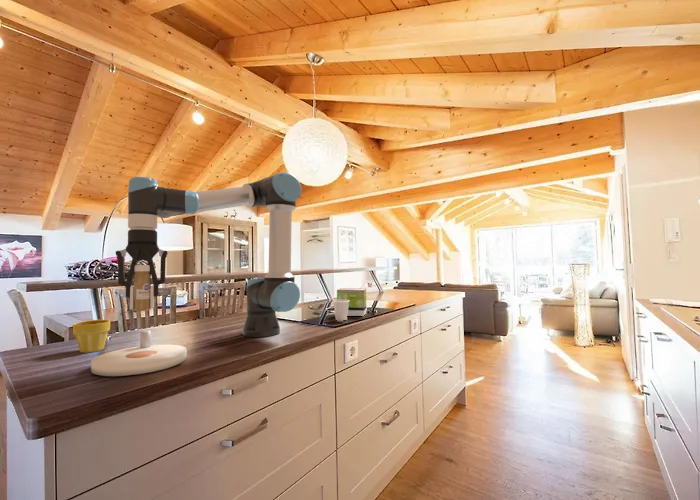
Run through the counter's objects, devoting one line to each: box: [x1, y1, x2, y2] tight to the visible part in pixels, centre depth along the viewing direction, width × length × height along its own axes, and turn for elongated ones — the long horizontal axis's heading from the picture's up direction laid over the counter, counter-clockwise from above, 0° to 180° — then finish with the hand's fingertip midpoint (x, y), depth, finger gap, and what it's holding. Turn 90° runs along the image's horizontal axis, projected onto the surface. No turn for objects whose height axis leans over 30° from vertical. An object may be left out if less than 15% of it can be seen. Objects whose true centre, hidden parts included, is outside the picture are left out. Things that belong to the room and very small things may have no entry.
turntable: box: [90, 329, 188, 377], centre depth 102 cm, size 24×24×7 cm
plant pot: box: [72, 319, 111, 354], centre depth 120 cm, size 10×10×10 cm
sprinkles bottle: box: [132, 264, 152, 312], centre depth 102 cm, size 5×5×13 cm
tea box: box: [336, 287, 367, 317], centre depth 188 cm, size 15×10×15 cm, turn 80°
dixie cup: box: [332, 299, 349, 322], centre depth 173 cm, size 8×8×10 cm
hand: (142, 307), depth 102 cm, fingers closed on sprinkles bottle, 4 cm apart
